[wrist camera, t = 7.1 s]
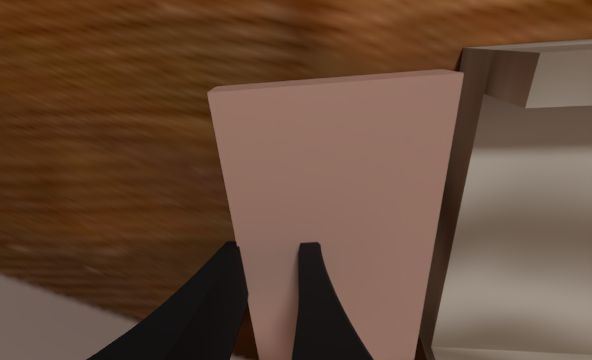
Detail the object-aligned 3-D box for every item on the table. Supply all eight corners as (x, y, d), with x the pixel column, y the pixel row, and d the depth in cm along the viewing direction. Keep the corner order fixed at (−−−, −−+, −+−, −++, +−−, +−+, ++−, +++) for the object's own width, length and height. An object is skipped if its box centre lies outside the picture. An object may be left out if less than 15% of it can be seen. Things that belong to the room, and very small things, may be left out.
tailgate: (412, 367, 13) (263, 380, 13) (397, 329, 15) (265, 340, 15) (464, 72, 8) (207, 92, 8) (430, 67, 10) (221, 83, 10)
